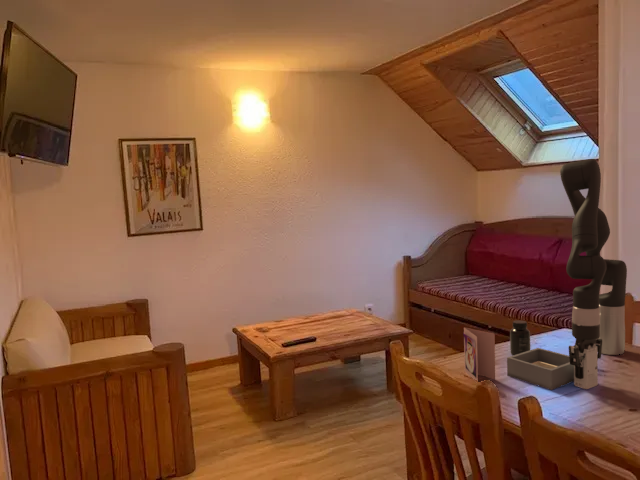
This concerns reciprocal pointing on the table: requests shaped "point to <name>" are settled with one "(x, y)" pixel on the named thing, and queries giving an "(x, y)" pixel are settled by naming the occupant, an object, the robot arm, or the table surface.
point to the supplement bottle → (519, 337)
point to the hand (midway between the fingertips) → (585, 375)
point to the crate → (541, 368)
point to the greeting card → (479, 353)
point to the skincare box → (588, 370)
